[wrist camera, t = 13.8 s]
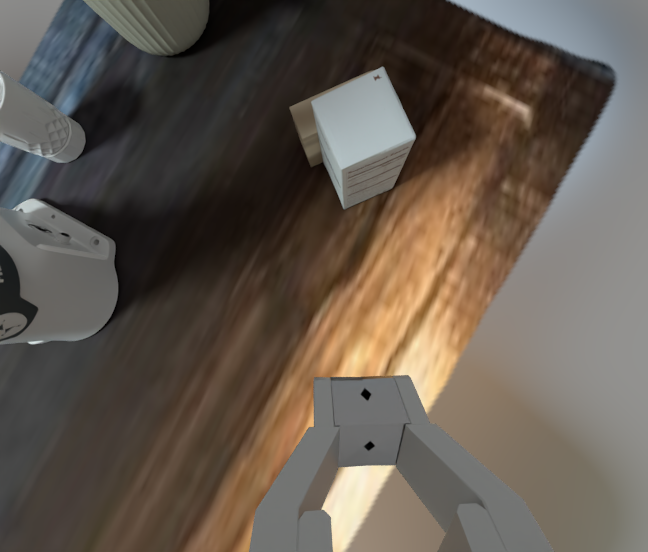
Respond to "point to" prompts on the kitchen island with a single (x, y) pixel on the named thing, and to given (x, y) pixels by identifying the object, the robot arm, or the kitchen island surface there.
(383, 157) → the supplement box
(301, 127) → the block
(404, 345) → the kitchen island surface
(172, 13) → the canister
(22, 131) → the white cup
